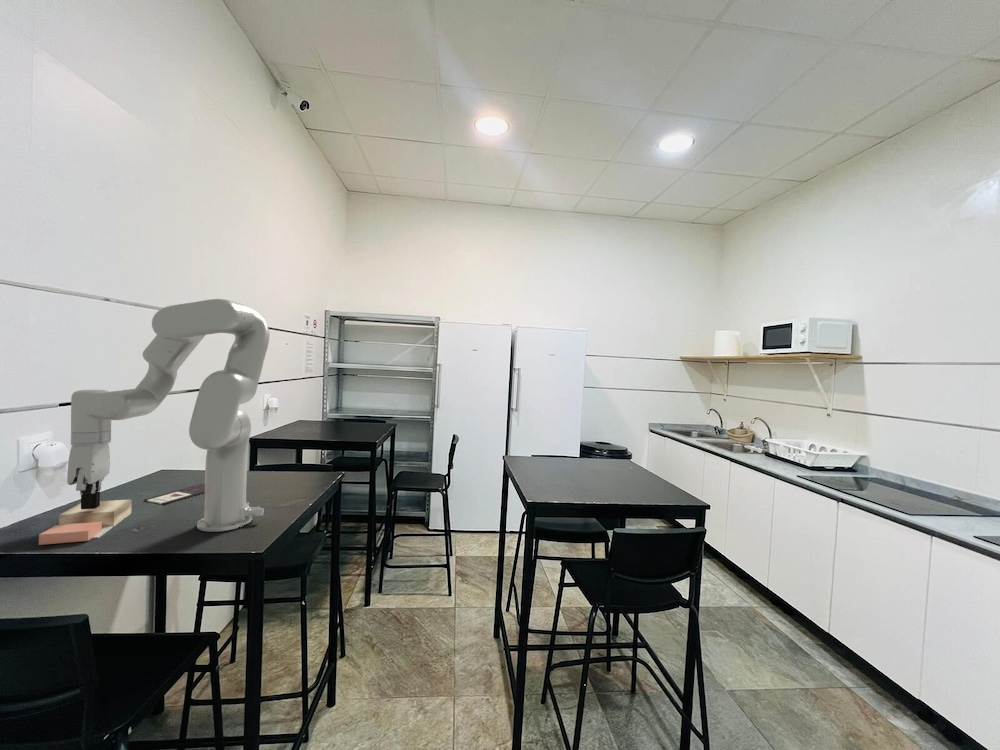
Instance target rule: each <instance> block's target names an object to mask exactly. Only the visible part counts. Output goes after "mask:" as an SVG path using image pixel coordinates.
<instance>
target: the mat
mask: <svg viewBox="0 0 1000 750" xmlns="http://www.w3.org/2000/svg"><path fill="white" fill-rule="evenodd" d="M113 528H114V527H113V526H109V527H102V531H101V532H100V533H98V534H97V535H96V536H94V537H93V538H91V539H90V540H92V539H94V540H95V539H100V538H101V537H102V536H103V535H104V534H106V533H107V532H109V531H110V530H111V529H113Z"/></svg>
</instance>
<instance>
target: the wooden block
mask: <svg viewBox="0 0 1000 750" xmlns="http://www.w3.org/2000/svg"><path fill="white" fill-rule="evenodd" d="M132 502H133V501H132V499H129V498H128V499H120V500H119V499H115V500H100V506H99V507H97V508H95V509H81V502H80V503H78V504H77V505H75V506H73V507H71V508H69V509H68V510H66V511H64V512H62V513H61V514H58V515H59V516H58V525H63V524H77V523H91V522H102V527H109V526H113V528H114V527H115V526H117V525H118V524H119V523H120V522H122V521H124V518H125V519H126V518H127V517H129V516H130V515H131V514H132Z"/></svg>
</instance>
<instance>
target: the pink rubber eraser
mask: <svg viewBox="0 0 1000 750" xmlns="http://www.w3.org/2000/svg"><path fill="white" fill-rule="evenodd" d="M101 531H102V522H91V523H77V524H63V525H59V524H54V525H52V526H51V527H50V528H48V529H46V530H45V531H42V532H41V533H39V534H38V546H42V545H54V544H56V545H57V544H65V543H78V542H88V541H90V540H92V539H91V538H93V537H94V536H96V535H97V534H98V533H100V532H101Z"/></svg>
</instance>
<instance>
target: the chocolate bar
mask: <svg viewBox="0 0 1000 750" xmlns="http://www.w3.org/2000/svg"><path fill="white" fill-rule="evenodd" d="M204 493H205V483H204V484H203V483H200V484H196V485H191V486H188V487H185V488H181V489H179V490H174V491H170V492H166V493H163V494H160V495H156V496H151V497H149V498H145V499H144V500H143V501H144V502H147V503H152V504H157V503H158V504H157V505H162V504H163V506H167V504H168V505H170V503H171V504H174V503H177V502H176V501H178V502H180V500H181V501H184V500H183V499H185V500H187V498H188V499H191V498H194V497H193V496H195V497H197V495H198V496H201V495H200V494H202V495H205V494H204ZM190 497H191V498H190ZM173 502H174V503H173Z"/></svg>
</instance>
